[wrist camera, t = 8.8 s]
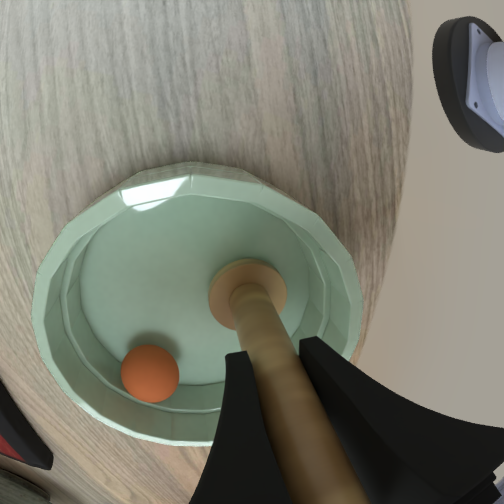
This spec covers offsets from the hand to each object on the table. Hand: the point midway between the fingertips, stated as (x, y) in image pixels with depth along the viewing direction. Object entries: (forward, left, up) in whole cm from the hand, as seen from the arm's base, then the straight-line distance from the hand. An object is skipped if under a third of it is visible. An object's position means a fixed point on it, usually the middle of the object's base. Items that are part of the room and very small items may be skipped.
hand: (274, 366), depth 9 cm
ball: (+4, +5, -4) cm, 7 cm away
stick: (0, 0, -5) cm, 5 cm away
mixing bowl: (+2, +1, -6) cm, 6 cm away
